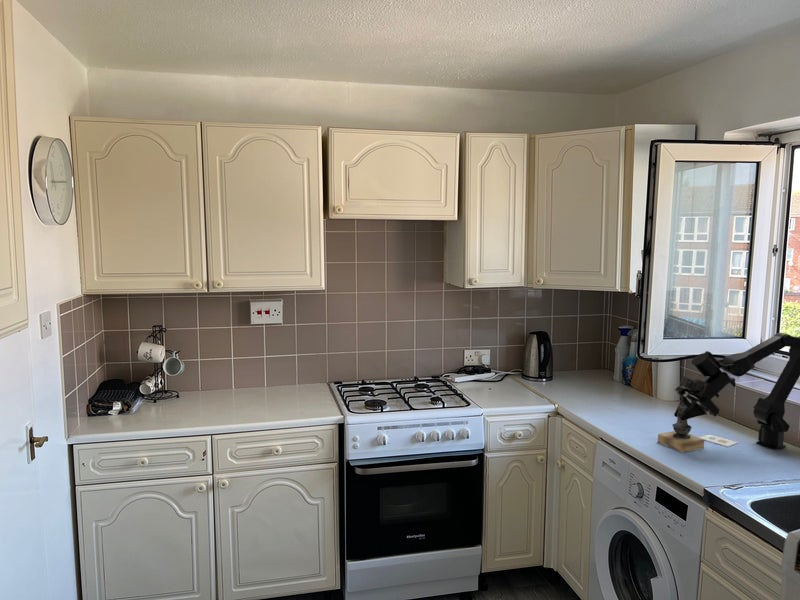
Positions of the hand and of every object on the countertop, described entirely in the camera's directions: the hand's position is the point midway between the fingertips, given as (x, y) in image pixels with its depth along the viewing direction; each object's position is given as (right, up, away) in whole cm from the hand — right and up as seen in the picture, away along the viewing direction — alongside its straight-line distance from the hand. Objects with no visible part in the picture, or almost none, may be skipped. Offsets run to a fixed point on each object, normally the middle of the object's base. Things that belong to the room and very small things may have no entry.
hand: (677, 417), depth 194 cm
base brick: (+1, -10, +1) cm, 10 cm away
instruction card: (+17, -9, +6) cm, 20 cm away
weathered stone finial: (+2, -7, +1) cm, 7 cm away
